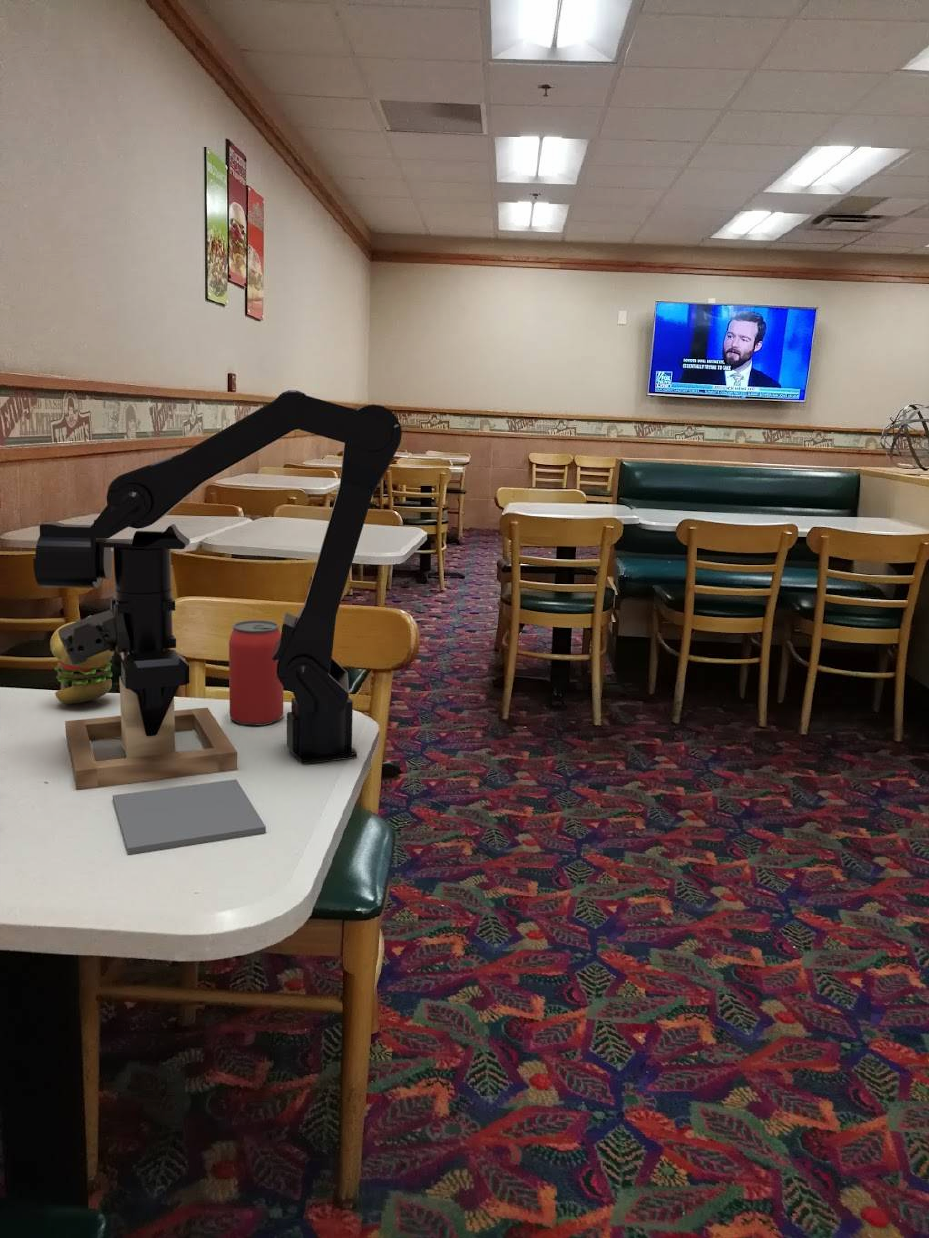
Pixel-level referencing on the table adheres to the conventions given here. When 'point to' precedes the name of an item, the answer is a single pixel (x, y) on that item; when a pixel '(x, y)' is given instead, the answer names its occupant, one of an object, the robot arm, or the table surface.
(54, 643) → the hamburger
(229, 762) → the wooden frame
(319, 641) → the robot arm
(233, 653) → the beer can
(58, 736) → the table surface
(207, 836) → the rubber mat
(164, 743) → the maple block
